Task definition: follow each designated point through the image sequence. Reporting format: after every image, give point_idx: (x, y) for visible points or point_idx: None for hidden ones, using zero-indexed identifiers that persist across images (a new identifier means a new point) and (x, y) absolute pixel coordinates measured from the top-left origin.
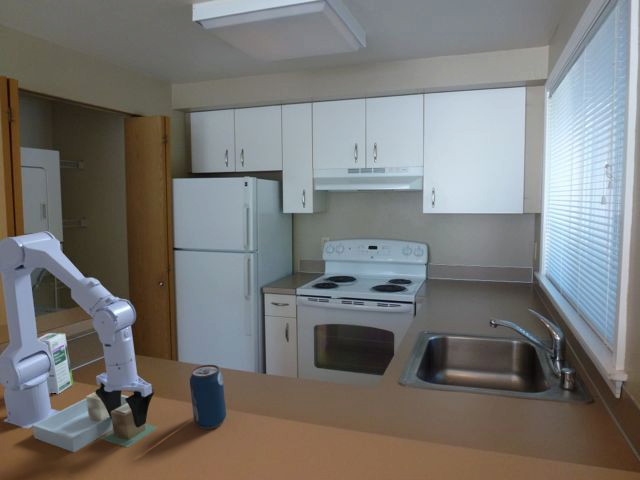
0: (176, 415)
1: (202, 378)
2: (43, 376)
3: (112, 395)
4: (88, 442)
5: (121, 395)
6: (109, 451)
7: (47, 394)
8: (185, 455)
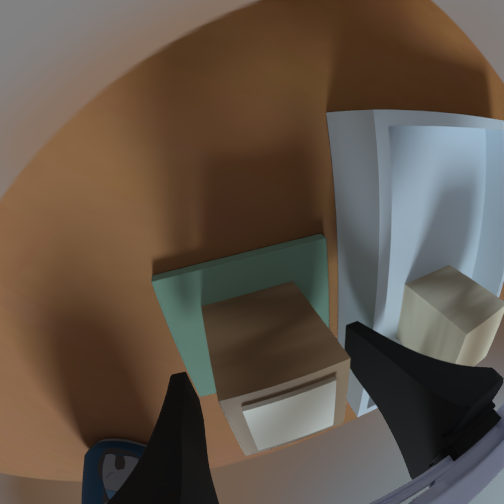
0: None
1: None
2: None
3: (412, 418)
4: (341, 186)
5: None
6: (212, 218)
7: None
8: (4, 361)
